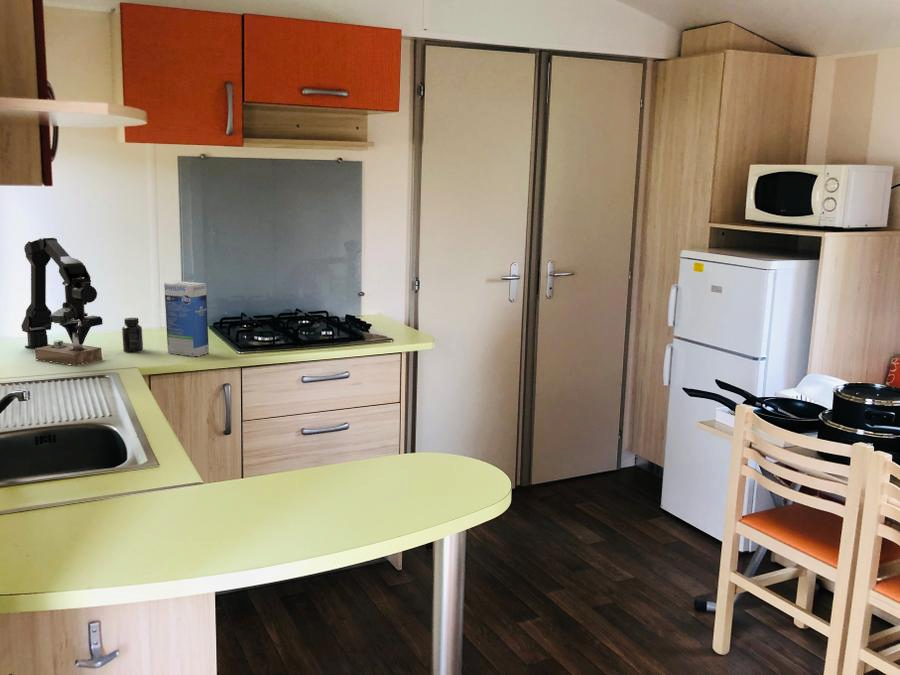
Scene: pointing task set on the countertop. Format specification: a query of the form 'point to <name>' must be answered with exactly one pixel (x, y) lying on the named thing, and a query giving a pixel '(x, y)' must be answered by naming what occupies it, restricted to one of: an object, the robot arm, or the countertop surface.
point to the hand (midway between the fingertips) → (77, 343)
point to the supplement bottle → (132, 335)
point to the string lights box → (186, 318)
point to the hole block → (68, 354)
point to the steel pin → (76, 342)
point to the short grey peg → (58, 344)
